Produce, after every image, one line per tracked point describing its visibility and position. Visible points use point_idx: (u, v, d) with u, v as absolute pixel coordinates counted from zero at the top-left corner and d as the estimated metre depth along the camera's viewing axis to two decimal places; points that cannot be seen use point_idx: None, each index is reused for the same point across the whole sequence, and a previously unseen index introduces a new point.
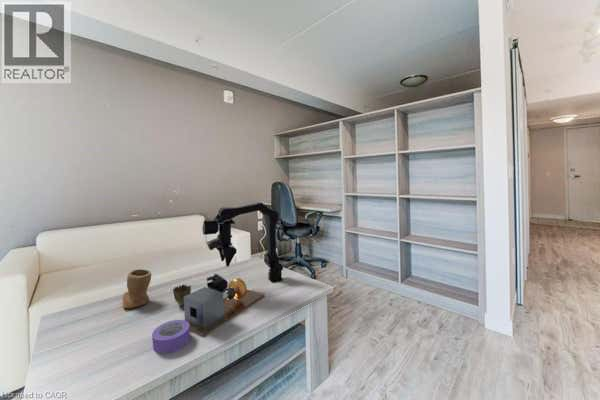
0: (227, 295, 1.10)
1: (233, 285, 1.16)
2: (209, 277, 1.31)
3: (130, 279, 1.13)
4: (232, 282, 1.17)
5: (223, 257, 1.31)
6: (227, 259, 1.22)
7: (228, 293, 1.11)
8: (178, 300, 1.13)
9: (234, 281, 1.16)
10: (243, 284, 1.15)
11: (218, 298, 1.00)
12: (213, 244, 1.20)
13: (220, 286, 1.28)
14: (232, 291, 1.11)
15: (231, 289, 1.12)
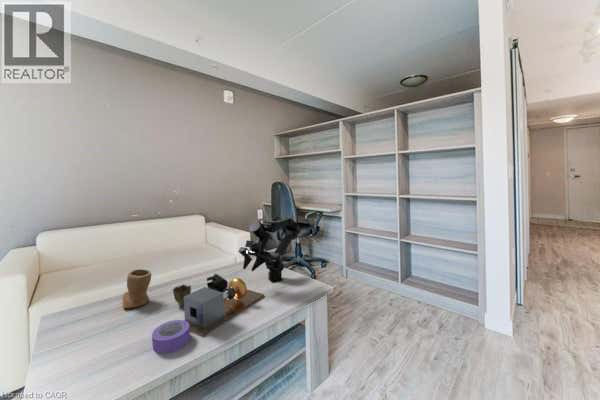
0: (227, 295, 1.10)
1: (233, 285, 1.16)
2: (209, 277, 1.31)
3: (130, 279, 1.13)
4: (232, 282, 1.17)
5: (246, 265, 1.25)
6: (257, 263, 1.23)
7: (228, 293, 1.11)
8: (178, 300, 1.13)
9: (234, 281, 1.16)
10: (243, 284, 1.15)
11: (218, 298, 1.00)
12: (258, 243, 1.23)
13: (220, 286, 1.28)
14: (232, 291, 1.11)
15: (231, 289, 1.12)
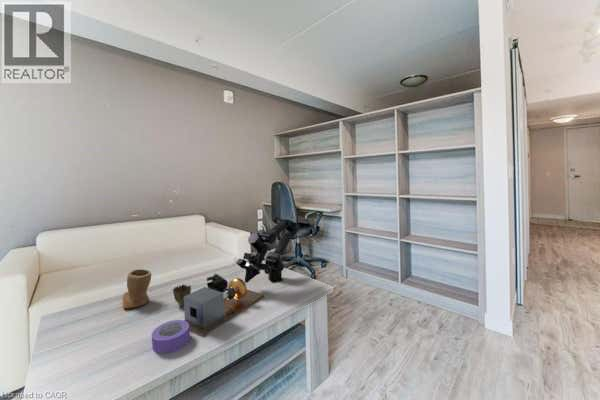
0: (227, 295, 1.10)
1: (233, 285, 1.16)
2: (209, 277, 1.31)
3: (130, 279, 1.13)
4: (232, 282, 1.17)
5: None
6: (251, 275, 1.23)
7: (228, 293, 1.11)
8: (178, 300, 1.13)
9: (234, 281, 1.16)
10: (243, 284, 1.15)
11: (218, 298, 1.00)
12: (256, 255, 1.22)
13: (220, 286, 1.28)
14: (232, 291, 1.11)
15: (231, 289, 1.12)
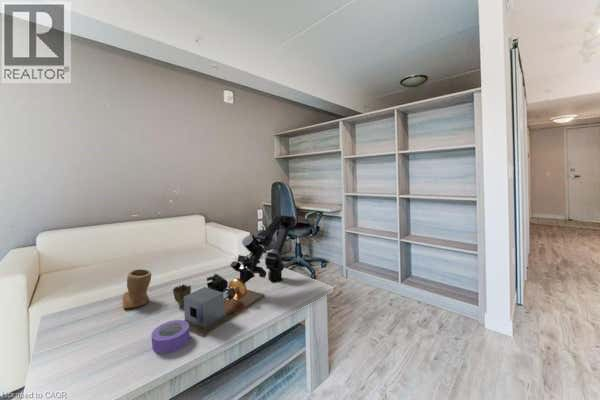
0: (227, 295, 1.10)
1: (233, 285, 1.16)
2: (209, 277, 1.31)
3: (130, 279, 1.13)
4: (232, 282, 1.17)
5: None
6: (245, 278, 1.19)
7: (228, 293, 1.11)
8: (178, 300, 1.13)
9: (234, 281, 1.16)
10: (243, 284, 1.15)
11: (218, 298, 1.00)
12: (251, 258, 1.18)
13: (220, 286, 1.28)
14: (232, 291, 1.11)
15: (231, 289, 1.12)
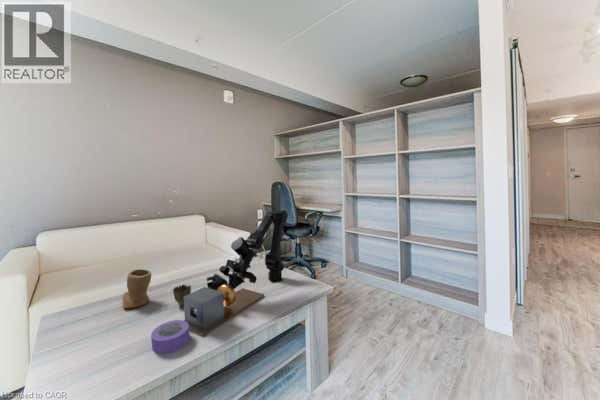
0: None
1: (221, 291, 1.10)
2: (209, 277, 1.31)
3: (130, 279, 1.13)
4: (220, 288, 1.10)
5: None
6: (234, 284, 1.13)
7: None
8: (178, 300, 1.13)
9: (222, 287, 1.10)
10: (231, 290, 1.09)
11: (218, 298, 1.00)
12: (240, 263, 1.12)
13: None
14: None
15: None
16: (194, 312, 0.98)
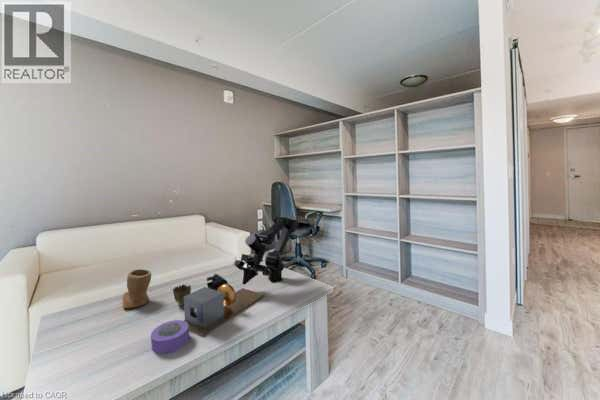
0: None
1: (221, 291, 1.10)
2: (209, 277, 1.31)
3: (130, 279, 1.13)
4: (220, 288, 1.11)
5: None
6: (249, 276, 1.22)
7: None
8: (178, 300, 1.13)
9: (222, 287, 1.10)
10: (232, 290, 1.09)
11: (218, 298, 1.00)
12: (254, 257, 1.20)
13: None
14: None
15: None
16: (194, 312, 0.98)
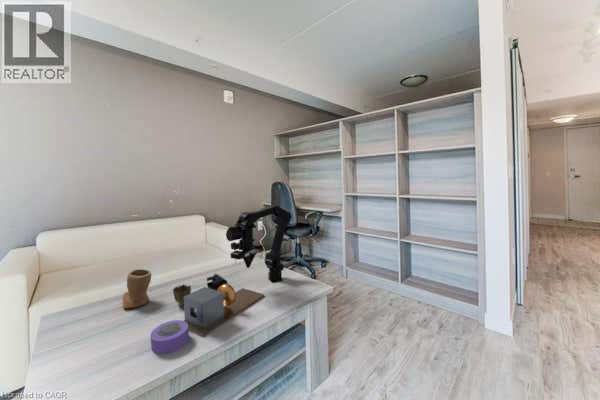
0: None
1: (221, 291, 1.10)
2: (209, 277, 1.31)
3: (130, 279, 1.13)
4: (220, 288, 1.11)
5: None
6: (245, 260, 1.28)
7: None
8: (178, 300, 1.13)
9: (222, 287, 1.10)
10: (232, 290, 1.09)
11: (218, 298, 1.00)
12: (231, 245, 1.28)
13: None
14: None
15: None
16: (194, 312, 0.98)
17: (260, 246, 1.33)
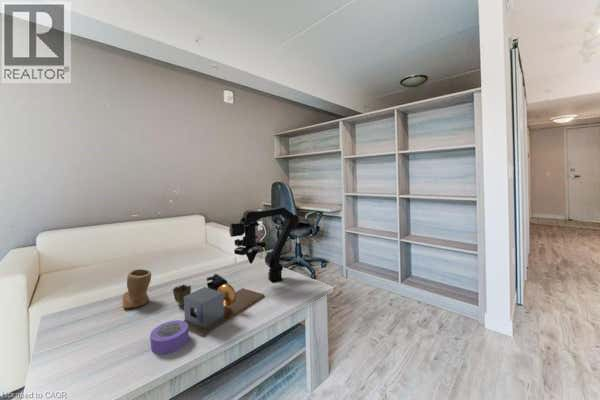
0: None
1: (221, 291, 1.10)
2: (209, 277, 1.31)
3: (130, 279, 1.13)
4: (220, 288, 1.11)
5: None
6: (248, 256, 1.34)
7: None
8: (178, 300, 1.13)
9: (222, 287, 1.10)
10: (232, 290, 1.09)
11: (218, 298, 1.00)
12: (235, 242, 1.34)
13: None
14: None
15: None
16: (194, 312, 0.98)
17: (262, 243, 1.39)
